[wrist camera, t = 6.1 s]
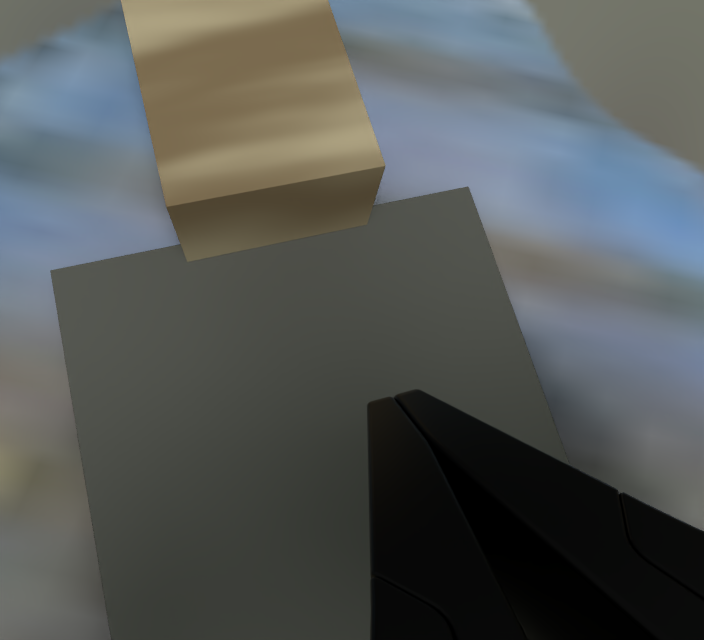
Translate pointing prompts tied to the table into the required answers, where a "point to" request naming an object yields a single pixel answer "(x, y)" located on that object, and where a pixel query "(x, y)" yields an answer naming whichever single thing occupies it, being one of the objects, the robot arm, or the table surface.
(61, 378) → the table surface
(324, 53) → the maple block
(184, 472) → the rubber mat
